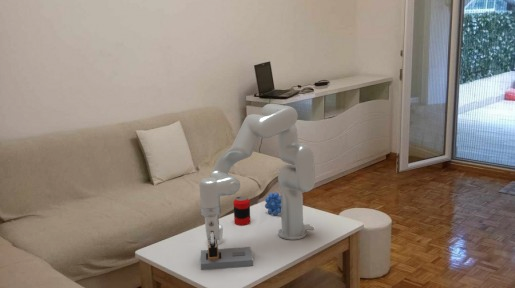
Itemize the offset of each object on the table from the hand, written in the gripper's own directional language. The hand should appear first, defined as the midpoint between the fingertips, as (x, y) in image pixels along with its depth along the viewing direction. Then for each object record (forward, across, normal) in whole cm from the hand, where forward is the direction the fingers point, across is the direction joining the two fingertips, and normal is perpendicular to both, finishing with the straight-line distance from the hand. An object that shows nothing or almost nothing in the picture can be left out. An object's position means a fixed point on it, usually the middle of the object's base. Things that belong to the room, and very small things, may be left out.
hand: (213, 252), depth 196 cm
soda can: (+4, +39, -14) cm, 42 cm away
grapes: (+4, +46, -31) cm, 56 cm away
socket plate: (+4, 0, -5) cm, 6 cm away
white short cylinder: (+4, +19, -1) cm, 20 cm away
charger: (+4, 0, 0) cm, 4 cm away
